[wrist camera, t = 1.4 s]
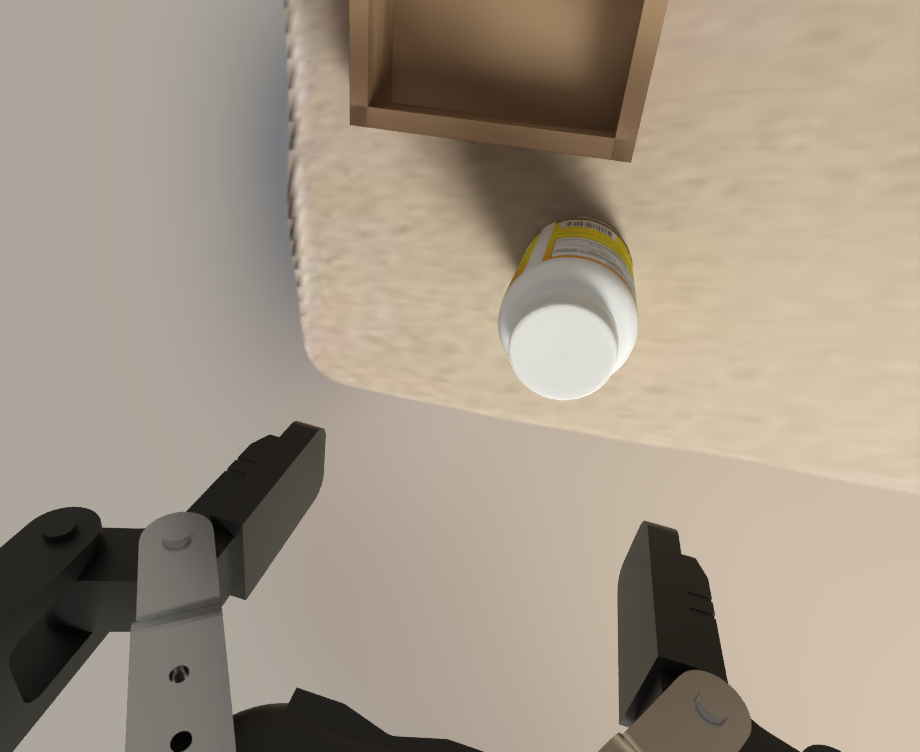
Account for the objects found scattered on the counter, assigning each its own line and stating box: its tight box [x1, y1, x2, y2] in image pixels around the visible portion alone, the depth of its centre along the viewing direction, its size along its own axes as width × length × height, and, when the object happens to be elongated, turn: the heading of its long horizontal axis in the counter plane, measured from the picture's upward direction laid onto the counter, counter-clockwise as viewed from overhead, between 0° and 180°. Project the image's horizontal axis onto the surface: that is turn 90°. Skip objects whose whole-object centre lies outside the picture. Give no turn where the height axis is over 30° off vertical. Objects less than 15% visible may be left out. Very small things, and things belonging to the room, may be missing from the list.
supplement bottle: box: [498, 217, 638, 400], centre depth 25 cm, size 6×6×10 cm
